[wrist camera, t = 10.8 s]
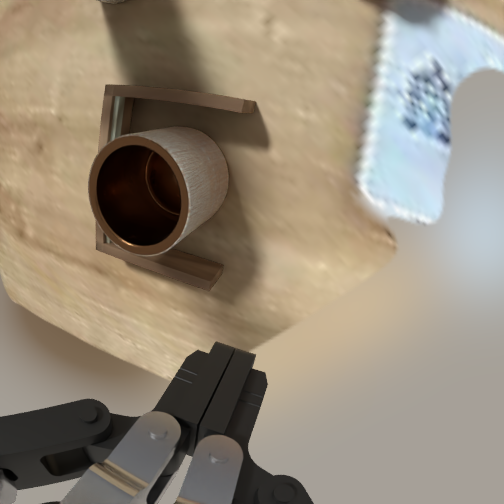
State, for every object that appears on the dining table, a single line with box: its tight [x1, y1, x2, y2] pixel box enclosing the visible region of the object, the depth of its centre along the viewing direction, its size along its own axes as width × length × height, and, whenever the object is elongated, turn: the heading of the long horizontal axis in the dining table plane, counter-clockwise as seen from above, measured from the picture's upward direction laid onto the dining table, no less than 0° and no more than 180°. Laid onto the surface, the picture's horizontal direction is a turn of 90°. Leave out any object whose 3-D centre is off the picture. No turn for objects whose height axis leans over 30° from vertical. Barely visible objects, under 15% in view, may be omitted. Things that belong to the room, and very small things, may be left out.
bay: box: [96, 85, 256, 291], centre depth 32 cm, size 19×15×4 cm
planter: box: [88, 126, 229, 256], centre depth 30 cm, size 11×11×10 cm
